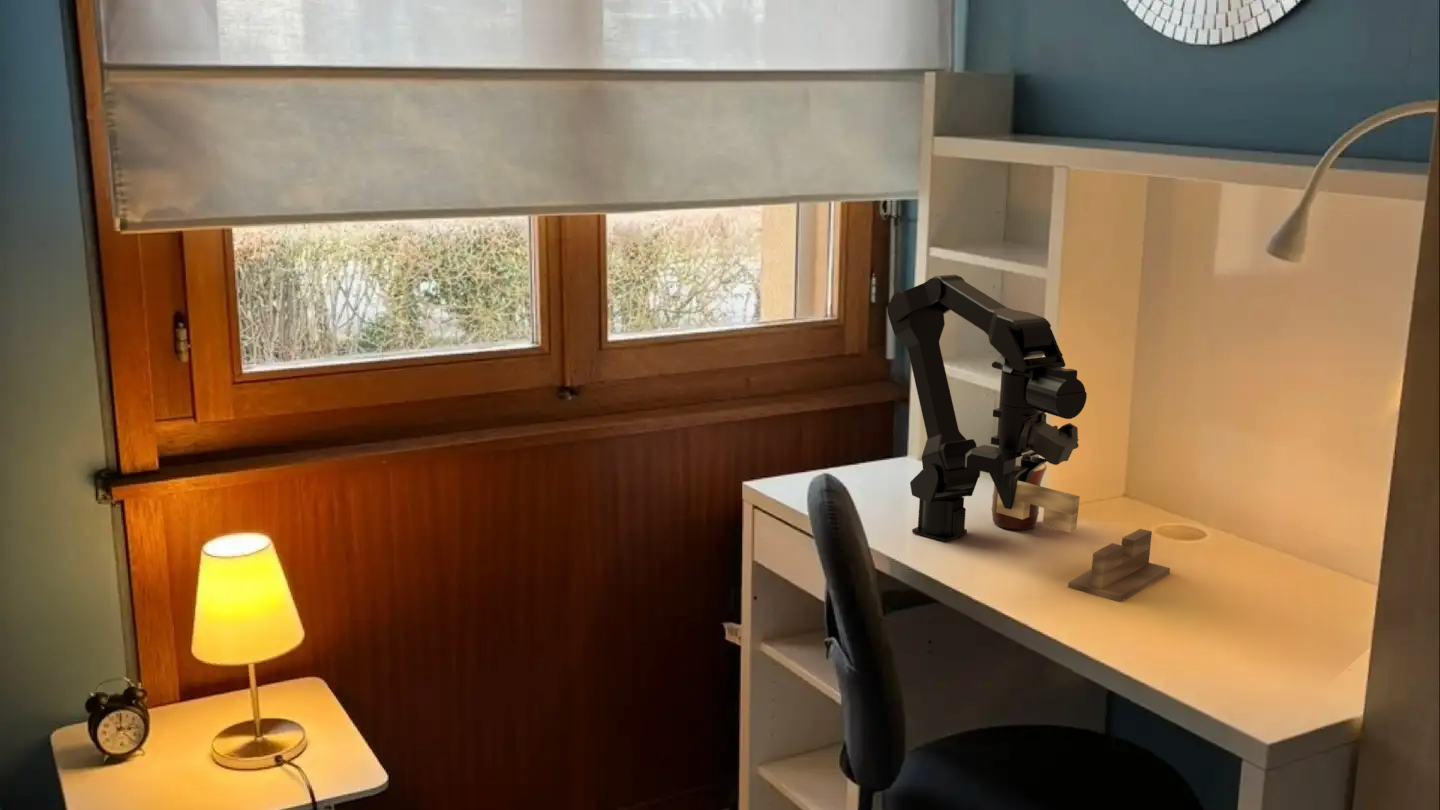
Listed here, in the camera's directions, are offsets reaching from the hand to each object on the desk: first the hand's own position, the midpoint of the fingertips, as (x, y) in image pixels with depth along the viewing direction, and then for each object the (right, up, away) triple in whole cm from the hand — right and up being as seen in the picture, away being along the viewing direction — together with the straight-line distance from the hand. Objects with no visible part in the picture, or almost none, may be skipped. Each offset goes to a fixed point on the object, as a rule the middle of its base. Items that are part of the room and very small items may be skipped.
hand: (1011, 507), depth 203 cm
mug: (+4, -5, +19) cm, 20 cm away
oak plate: (+3, -2, -2) cm, 4 cm away
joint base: (+15, -10, -3) cm, 18 cm away
